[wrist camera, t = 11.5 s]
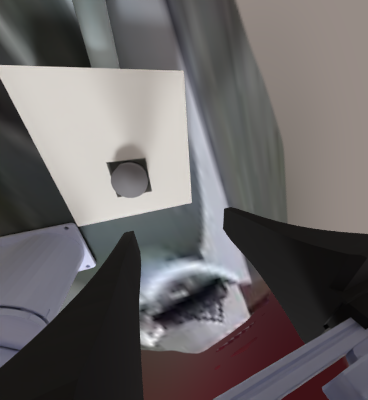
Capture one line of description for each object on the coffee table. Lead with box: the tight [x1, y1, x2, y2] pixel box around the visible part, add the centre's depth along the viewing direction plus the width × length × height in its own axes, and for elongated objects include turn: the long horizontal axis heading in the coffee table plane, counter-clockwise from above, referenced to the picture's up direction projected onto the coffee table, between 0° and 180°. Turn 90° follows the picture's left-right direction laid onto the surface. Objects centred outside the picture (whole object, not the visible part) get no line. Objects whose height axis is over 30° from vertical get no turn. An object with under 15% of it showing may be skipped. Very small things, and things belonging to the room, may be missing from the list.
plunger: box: [111, 161, 148, 198], centre depth 13 cm, size 3×3×2 cm
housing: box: [0, 65, 192, 227], centre depth 14 cm, size 12×12×4 cm
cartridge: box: [72, 0, 120, 69], centre depth 9 cm, size 14×3×5 cm, turn 4°
